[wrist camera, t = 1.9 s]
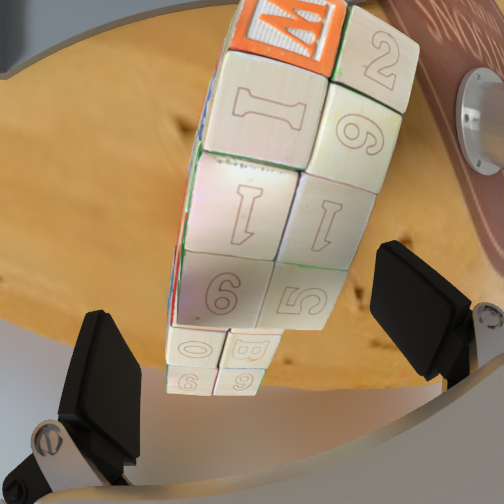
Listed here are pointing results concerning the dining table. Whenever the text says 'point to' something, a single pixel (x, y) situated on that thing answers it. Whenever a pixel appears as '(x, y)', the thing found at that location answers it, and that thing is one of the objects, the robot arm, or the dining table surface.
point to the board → (73, 24)
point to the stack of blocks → (280, 183)
